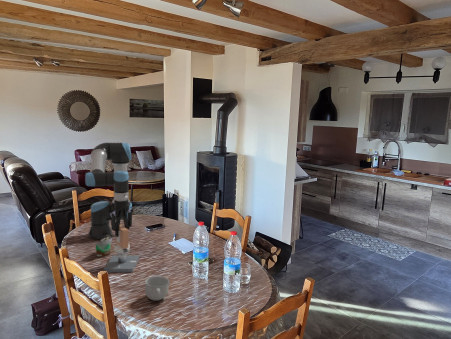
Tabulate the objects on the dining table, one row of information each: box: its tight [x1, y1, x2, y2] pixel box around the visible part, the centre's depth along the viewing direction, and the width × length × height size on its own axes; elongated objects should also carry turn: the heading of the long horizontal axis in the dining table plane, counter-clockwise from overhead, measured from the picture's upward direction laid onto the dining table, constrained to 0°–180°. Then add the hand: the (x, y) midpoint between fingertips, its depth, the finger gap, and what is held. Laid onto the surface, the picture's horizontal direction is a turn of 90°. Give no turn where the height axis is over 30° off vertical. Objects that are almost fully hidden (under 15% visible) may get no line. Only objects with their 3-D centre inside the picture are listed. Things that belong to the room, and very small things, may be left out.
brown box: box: [113, 223, 131, 254], centre depth 175 cm, size 11×8×13 cm
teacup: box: [144, 275, 170, 301], centre depth 145 cm, size 14×11×8 cm
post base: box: [103, 252, 140, 273], centre depth 176 cm, size 17×15×8 cm
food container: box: [94, 235, 113, 258], centre depth 189 cm, size 12×6×10 cm, turn 168°
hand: (122, 240), depth 175 cm, fingers closed on brown box, 4 cm apart
